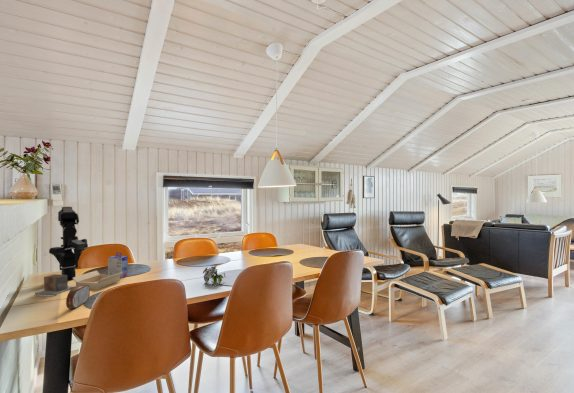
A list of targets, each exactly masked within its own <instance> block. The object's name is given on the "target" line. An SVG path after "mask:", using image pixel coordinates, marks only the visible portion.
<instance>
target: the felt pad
mask: <svg viewBox="0 0 574 393" xmlns="http://www.w3.org/2000/svg"><path fill="white" fill-rule="evenodd" d="M75 287H76V286H73V285H72V286H70V285H68V289H65V290H62V291H44V289H42V290H38V291H35V292H34V295H35V294H36V295H38V296H50V297H55V296H57V295H59V294H62V293H65V292H68V291H70V290H72V289H73V288H75Z"/></svg>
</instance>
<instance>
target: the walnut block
mask: <svg viewBox="0 0 574 393" xmlns="http://www.w3.org/2000/svg"><path fill="white" fill-rule="evenodd" d="M68 286H69V285H68V281H67V275H62V274H56V273H55V274H49V275H46V276H43V290H44V291H62V290H65V289H68Z"/></svg>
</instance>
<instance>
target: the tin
mask: <svg viewBox="0 0 574 393" xmlns="http://www.w3.org/2000/svg"><path fill="white" fill-rule="evenodd" d="M74 287H75V288H73V289H70V290H69V292H68V294H67V295H66V300H65V305H66V308H67V309H77V308H79V307H81V306H82V305H83V304H86V303H87V302H88V300H89V298H90V294H91V289H90V287H89V285H83V284H82V285H79V286H77V287H76V286H74Z"/></svg>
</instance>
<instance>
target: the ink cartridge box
mask: <svg viewBox="0 0 574 393" xmlns="http://www.w3.org/2000/svg"><path fill="white" fill-rule="evenodd" d="M122 254H123V252H116V254H115V255H113V256H109V257H108V258H107V275H114V274H117V273H120V272H123V273H122V274H121V275H120V279H123V278H126V277H128V276H129V274H128V273H129V271H128V270H129V269H128V268H129V266H128V265H129V264H128V260H129V259H128V256H127V255H124V256H123V255H122Z"/></svg>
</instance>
